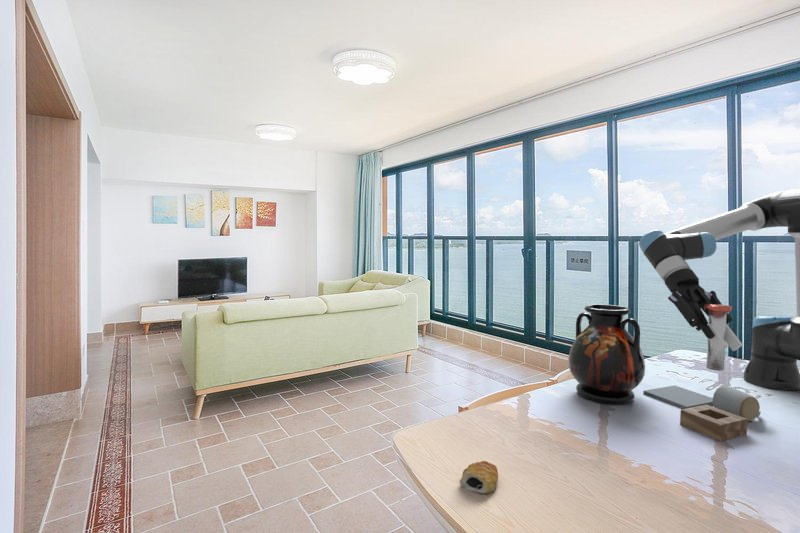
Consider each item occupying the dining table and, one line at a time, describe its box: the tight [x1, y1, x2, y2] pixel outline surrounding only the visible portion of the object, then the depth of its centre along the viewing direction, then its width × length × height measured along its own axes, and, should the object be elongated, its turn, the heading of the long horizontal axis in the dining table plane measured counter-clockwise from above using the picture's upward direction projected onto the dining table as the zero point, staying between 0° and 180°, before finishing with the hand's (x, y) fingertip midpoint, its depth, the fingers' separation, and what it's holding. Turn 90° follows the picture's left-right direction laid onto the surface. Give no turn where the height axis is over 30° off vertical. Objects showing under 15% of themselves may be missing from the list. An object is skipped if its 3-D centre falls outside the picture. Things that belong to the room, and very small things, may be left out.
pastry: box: [459, 460, 499, 495], centre depth 86 cm, size 9×7×4 cm
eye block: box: [679, 405, 748, 442], centre depth 109 cm, size 10×10×4 cm
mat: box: [643, 385, 713, 409], centre depth 131 cm, size 14×14×1 cm
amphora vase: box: [567, 304, 646, 405], centre depth 132 cm, size 22×22×28 cm
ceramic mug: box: [712, 385, 761, 422], centre depth 117 cm, size 11×8×8 cm
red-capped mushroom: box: [704, 304, 733, 372], centre depth 108 cm, size 6×6×16 cm
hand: (730, 348), depth 104 cm, fingers closed on red-capped mushroom, 3 cm apart
